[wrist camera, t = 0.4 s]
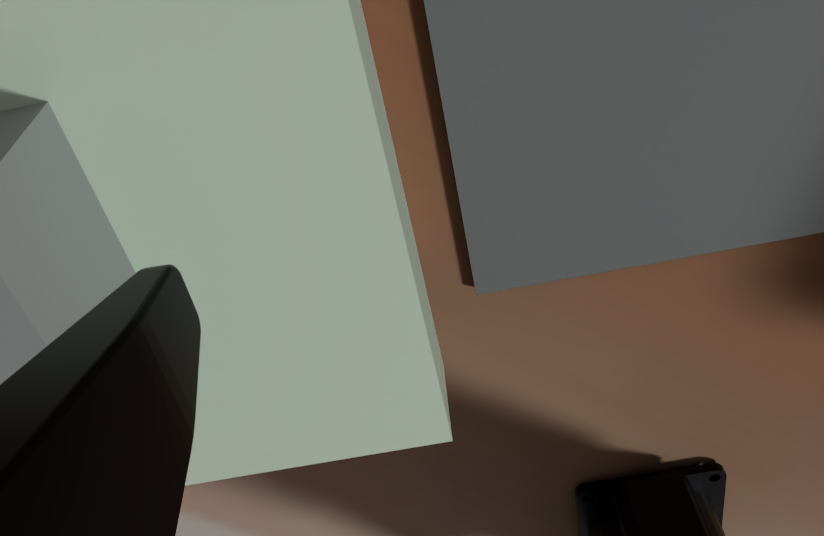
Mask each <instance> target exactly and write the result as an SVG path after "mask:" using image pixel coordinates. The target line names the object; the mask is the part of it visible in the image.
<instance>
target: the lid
mask: <svg viewBox="0 0 824 536" xmlns="http://www.w3.org/2000/svg"><path fill="white" fill-rule="evenodd" d="M167 264H171V265H173V266H175V267H176V268H177V269H178V270H179V272H180V273H181V275H182V278H183V280H184V282H185V285H186V287H187V289H188V292H189V294H190V296H191V299H192V301H193V303H194V306H195V308H196V311H197V313H198V316H199V320H200V325H201V340H200V356H199V371H198V387H197V402H196V418H195V429H194V438H193V444H192V450H191V456H190V461H189V466H188V471H187V477H186V482H185V486H186V485H192V484H198V483H204V482H210V481H216V480H222V479H228V478H234V477H240V476H246V475H252V474H258V473H264V472H270V471H276V470H282V469H288V468H294V467H300V466H306V465H312V464H318V463H324V462H330V461H336V460H342V459H348V458H354V457H360V456H366V455H372V454H378V453H384V452H390V451H396V450H402V449H408V448H414V447H420V446H426V445H432V444H438V443H444V442H450V441H453V440H452V431H451V423H450V415H449V407H448V399H447V390H446V382H445V374H444V366H443V361H442V357H441V353H440V348H439V344H438V339H437V335H436V331H435V326H434V322H433V317H432V313H431V309H430V304H429V300H428V295H427V291H426V287H425V282H424V278H423V274H422V269H421V265H420V260H419V256H418V252H417V247H416V243H415V238H414V234H413V230H412V225H411V221H410V216H409V212H408V208H407V203H406V199H405V195H404V190H403V186H402V181H401V177H400V173H399V168H398V164H397V159H396V155H395V151H394V146H393V142H392V137H391V133H390V129H389V124H388V120H387V115H386V111H385V107H384V102H383V98H382V94H381V89H380V85H379V80H378V76H377V72H376V67H375V63H374V58H373V54H372V50H371V45H370V41H369V36H368V32H367V28H366V23H365V19H364V14H363V10H362V6H361V1H360V0H0V384H1V383H3V382H4V381H5V380H6V379H8V378H9V377H10V376H11V375H12V374H14V373H15V372H16V371H17V370H18V369H20V368H21V367H22V366H23V365H25V364H26V363H27V362H28V361H29V360H31V359H32V358H33V357H34V356H36V355H37V354H38V353H39V352H40V351H42V350H43V349H44V348H45V347H46V346H48V345H49V344H50V343H51V342H53V341H54V340H55V339H56V338H57V337H59V336H60V335H61V334H62V333H63V332H65V331H66V330H67V329H68V328H70V327H71V326H72V325H73V324H74V323H76V322H77V321H78V320H79V319H81V318H82V317H83V316H84V315H85V314H87V313H88V312H89V311H90V310H91V309H93V308H94V307H95V306H96V305H98V304H99V303H100V302H101V301H102V300H104V299H105V298H106V297H107V296H108V295H110V294H111V293H112V292H113V291H115V290H116V289H117V288H118V287H119V286H121V285H122V284H123V283H124V282H126V281H127V280H128V279H129V278H130V277H132V276H133V275H134V274H135V273H136V272H138V271H139V270H140V269H143V268H148V267H154V266H160V265H167Z"/></svg>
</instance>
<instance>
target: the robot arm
mask: <svg viewBox="0 0 824 536" xmlns="http://www.w3.org/2000/svg"><path fill="white" fill-rule="evenodd" d="M200 340H201V325H200V320H199V316H198V313H197V311H196V308H195V306H194V303H193V301H192V299H191V296H190V294H189V292H188V289H187V287H186V285H185V282H184V280H183V278H182V275H181V273H180V272H179V270H178V269H177V268H176V267H175V266H173V265H171V264H167V265H160V266H154V267H148V268H143V269H140V270H139V271H138V272H136V273H135V274H134V275H133V276H132V277H130V278H129V279H128V280H127V281H126V282H124V283H123V284H122V285H121V286H119V287H118V288H117V289H116V290H115V291H113V292H112V293H111V294H110V295H108V296H107V297H106V298H105V299H104V300H102V301H101V302H100V303H99V304H98V305H96V306H95V307H94V308H93V309H91V310H90V311H89V312H88V313H87V314H85V315H84V316H83V317H82V318H81V319H79V320H78V321H77V322H76V323H74V324H73V325H72V326H71V327H70V328H68V329H67V330H66V331H65V332H63V333H62V334H61V335H60V336H59V337H57V338H56V339H55V340H54V341H53V342H51V343H50V344H49V345H48V346H46V347H45V348H44V349H43V350H42V351H40V352H39V353H38V354H37V355H36V356H34V357H33V358H32V359H31V360H29V361H28V362H27V363H26V364H25V365H23V366H22V367H21V368H20V369H18V370H17V371H16V372H15V373H14V374H12V375H11V376H10V377H9V378H8V379H6V380H5V381H4V382H3V383H1V384H0V536H175V534H176V529H177V523H178V518H179V513H180V508H181V503H182V497H183V492H184V487H185V482H186V477H187V471H188V466H189V461H190V456H191V450H192V444H193V438H194V429H195V418H196V402H197V387H198V371H199V356H200ZM725 486H726V473H725V471H724V469H723V467H722V465H720V464H718V463H711V464H704V465H698V466H692V467H686V468H679V469H673V470H667V471H661V472H655V473H648V474H642V475H636V476H630V477H623V478H617V479H611V480H605V481H599V482H592V483H586V484H582V485H580V486H578V487H577V488H576V489H575V502H576V512H577V522H578V532H579V536H725V534H724V531H723V529H722V518H723V507H724V496H725Z"/></svg>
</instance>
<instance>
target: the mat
mask: <svg viewBox="0 0 824 536" xmlns="http://www.w3.org/2000/svg"><path fill="white" fill-rule="evenodd" d="M424 6H425V12H426V17H427V23H428V28H429V34H430V40H431V45H432V51H433V56H434V62H435V68H436V73H437V79H438V85H439V90H440V96H441V101H442V107H443V113H444V118H445V124H446V129H447V135H448V141H449V146H450V152H451V157H452V163H453V169H454V174H455V180H456V185H457V191H458V197H459V202H460V208H461V213H462V219H463V225H464V230H465V236H466V241H467V247H468V253H469V258H470V264H471V270H472V275H473V281H474V286H475V292H476V295H478V294H484V293H489V292H495V291H501V290H506V289H512V288H517V287H523V286H528V285H534V284H540V283H545V282H551V281H556V280H562V279H567V278H573V277H578V276H584V275H590V274H595V273H601V272H606V271H612V270H617V269H623V268H629V267H634V266H640V265H645V264H651V263H656V262H662V261H667V260H673V259H679V258H684V257H690V256H695V255H701V254H706V253H712V252H718V251H723V250H729V249H734V248H740V247H745V246H751V245H757V244H762V243H768V242H773V241H779V240H784V239H790V238H795V237H801V236H807V235H812V234H818V233H823V232H824V0H424Z"/></svg>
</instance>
